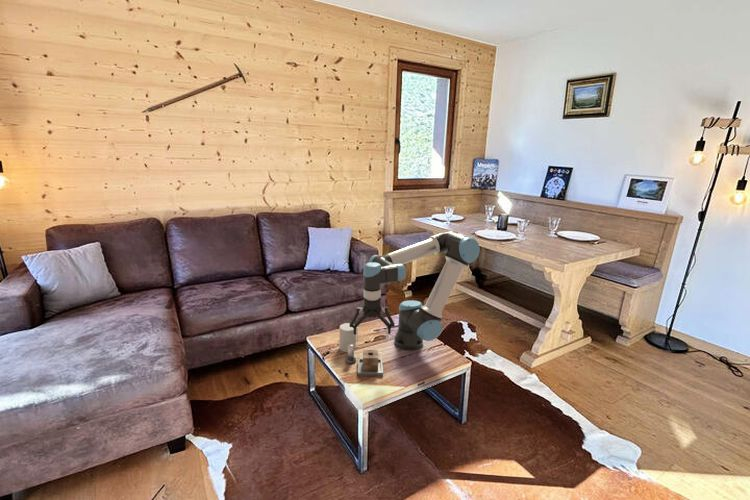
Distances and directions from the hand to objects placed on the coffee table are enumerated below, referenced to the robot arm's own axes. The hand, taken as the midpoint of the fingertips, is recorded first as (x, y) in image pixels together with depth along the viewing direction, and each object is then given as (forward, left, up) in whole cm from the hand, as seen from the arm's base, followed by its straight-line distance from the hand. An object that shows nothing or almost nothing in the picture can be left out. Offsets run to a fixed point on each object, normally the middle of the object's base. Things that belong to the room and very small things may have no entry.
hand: (372, 340), depth 172 cm
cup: (+12, -18, -15) cm, 26 cm away
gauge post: (+10, -6, -15) cm, 19 cm away
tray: (0, 0, -15) cm, 15 cm away
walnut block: (0, 0, -14) cm, 14 cm away
